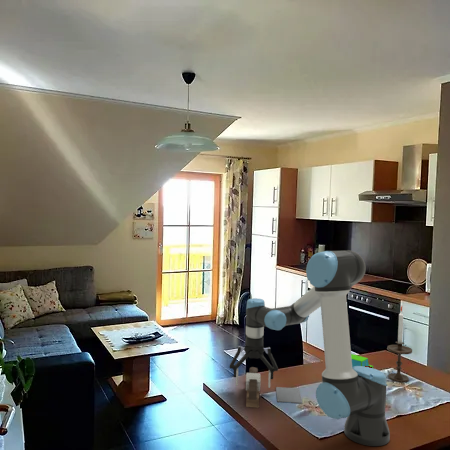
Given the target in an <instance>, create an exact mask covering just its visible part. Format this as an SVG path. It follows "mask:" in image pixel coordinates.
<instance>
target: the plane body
mask: <svg viewBox="0 0 450 450" xmlns="http://www.w3.org/2000/svg"><path fill="white" fill-rule="evenodd" d="M258 371H259V369H258V367H254V366H251V367H249V372H248V373H259V372H258ZM245 397H246V398H245V399H246V400H245V401H246V403H245V407H246V408H260V391H257V379H249V391H247V390H246V396H245Z"/></svg>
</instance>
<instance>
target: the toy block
mask: <svg viewBox="0 0 450 450" xmlns="http://www.w3.org/2000/svg"><path fill="white" fill-rule="evenodd" d="M351 358H352V368H353V367H355V366H364V367H365V366H370V367H372V368H373V369H374V365H373V364H372V365H371V364H369V358H368V357H364V356H361V355H357V354H353V353H351Z"/></svg>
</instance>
